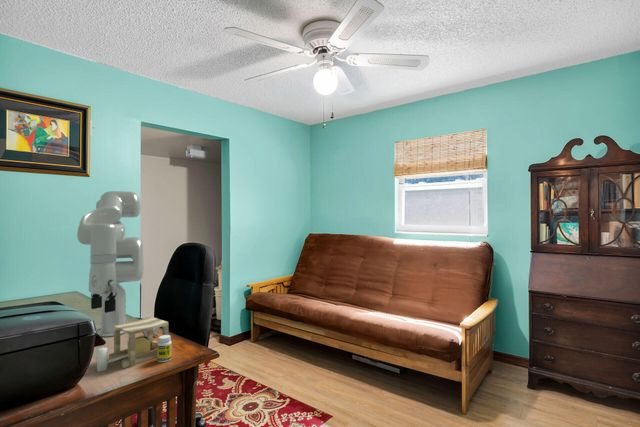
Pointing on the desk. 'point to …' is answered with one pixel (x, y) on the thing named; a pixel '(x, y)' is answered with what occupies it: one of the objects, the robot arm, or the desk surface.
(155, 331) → the game die
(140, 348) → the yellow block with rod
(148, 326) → the birch shelf
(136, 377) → the desk surface
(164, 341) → the supplement bottle
